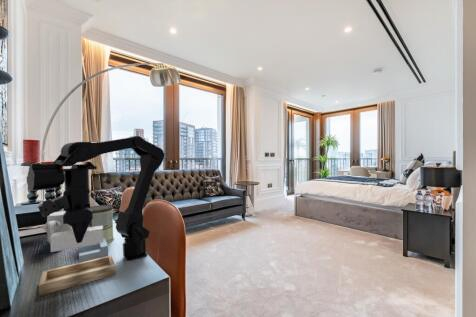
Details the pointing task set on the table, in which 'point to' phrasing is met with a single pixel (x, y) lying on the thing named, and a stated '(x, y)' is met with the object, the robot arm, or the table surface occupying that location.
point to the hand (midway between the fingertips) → (79, 240)
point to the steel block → (68, 239)
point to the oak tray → (76, 274)
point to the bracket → (93, 251)
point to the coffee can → (103, 220)
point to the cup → (59, 217)
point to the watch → (50, 229)
